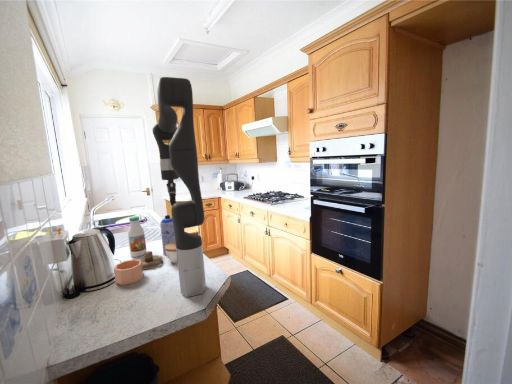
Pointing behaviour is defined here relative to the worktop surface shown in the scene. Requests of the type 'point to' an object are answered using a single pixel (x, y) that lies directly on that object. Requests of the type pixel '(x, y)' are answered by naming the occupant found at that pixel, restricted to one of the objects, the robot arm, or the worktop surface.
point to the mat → (155, 266)
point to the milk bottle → (136, 237)
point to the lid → (150, 260)
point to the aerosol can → (167, 232)
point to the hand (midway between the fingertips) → (173, 204)
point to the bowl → (128, 271)
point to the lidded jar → (171, 252)
